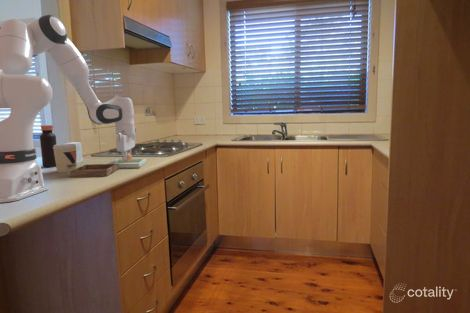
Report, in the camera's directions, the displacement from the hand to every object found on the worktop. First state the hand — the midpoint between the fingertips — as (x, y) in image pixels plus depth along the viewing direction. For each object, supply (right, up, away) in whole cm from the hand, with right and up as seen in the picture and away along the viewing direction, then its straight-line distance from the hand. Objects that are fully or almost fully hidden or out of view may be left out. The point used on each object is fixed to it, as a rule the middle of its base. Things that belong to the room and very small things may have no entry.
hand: (127, 158), depth 161 cm
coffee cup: (-23, -6, -11) cm, 27 cm away
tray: (0, -3, +1) cm, 3 cm away
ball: (0, +1, 0) cm, 1 cm away
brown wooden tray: (-8, -6, -17) cm, 20 cm away
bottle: (-38, -4, +2) cm, 38 cm away
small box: (-31, -3, +11) cm, 33 cm away
